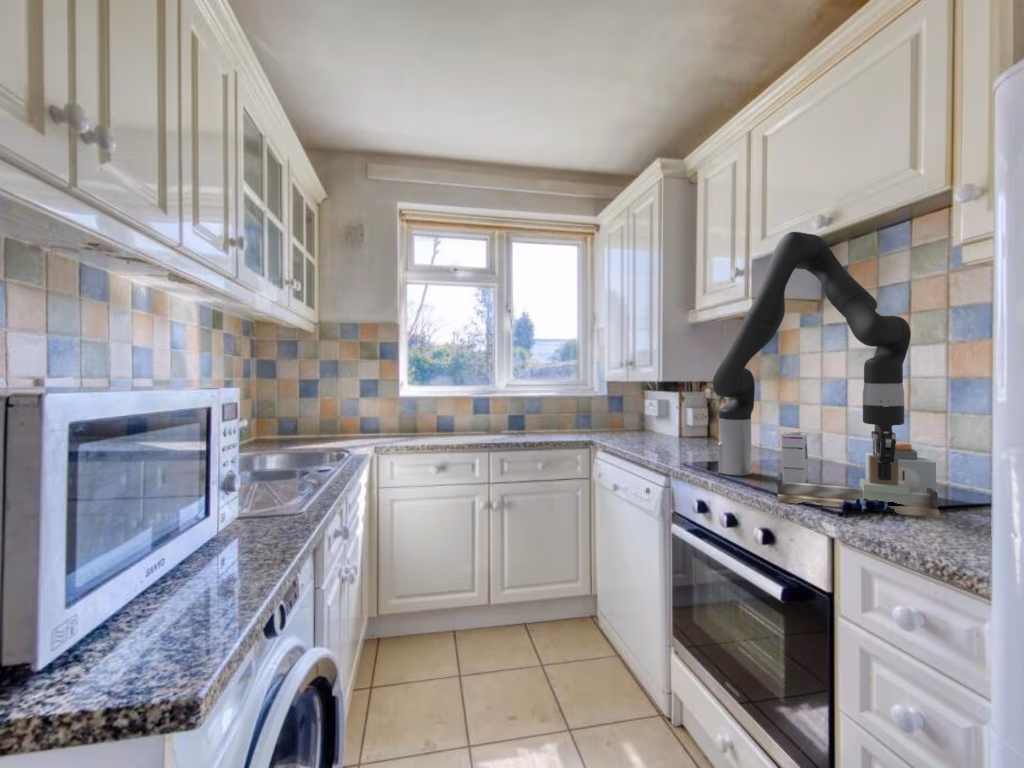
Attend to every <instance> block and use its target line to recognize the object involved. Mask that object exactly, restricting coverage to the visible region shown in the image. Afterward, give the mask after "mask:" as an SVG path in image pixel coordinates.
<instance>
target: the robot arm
mask: <svg viewBox="0 0 1024 768" xmlns="http://www.w3.org/2000/svg"><path fill="white" fill-rule="evenodd" d="M795 269H797V270H806V271H807V272H809V273H810V274H811V275H813V276H815V277H816V278H817V279H818V280H819V282H821V284H822V287H823V291H824V293H825V297H826V298H827V300H828V301H829V302H830V304H831V305H832V306H833V307H834V308H835V309H836V310H837V311H838V312H839V313H840V315H842V317H844V318H845V320H846V323H847V325H848V327H849V328H850V331H851V333H852V334H853V336H854V337H855V339H857V341H859V342H860V343H861V344H863V345H864V346H867V347H872V348H873V347H874V348H876V349H875V353H874V356H873V357H870V358H868V359H866V360H865V362H864V364H863V365H864V367H863V389H862V422H863V423H864V424H866V425H874V430H871V433H870V434H871V435H870V436H871V439H872V440H871V442H872V444H871V445H872V451H873V452H872V453H873V455H874V456H878V459H877V462H878V478H879V479H880V480H888V481H889V480H891V464H892V463H894V454H895V445H896V443H897V437H896V432H895V433H894V432H893V426H902V425H904V424H905V390H904V384H903V383H904V372H903V371H904V368H903V367H904V366H903V365H904V361H905V359H906V357H907V356H906V355H907V353H908V349H909V346H910V342H911V338H912V337H911V335H912V333H911V332H912V331H911V328H910V325H909V323H908V321H907V320H906V319H905V318H903V317H900V316H897V315H881V314H880V313H878V312H877V311H876V310H877V308H878V303H877V300H876V299H875V297H873V295H871V293H869V291H867V289H865V288H864V287H863V286H862V285H861V284H860V283H859V282H858V281H857V280H856V279H855V278H853V277H852V275H850V273H849V272H848V271H847V270H846V269H845V267H844V266H843V265H842V264H841V262H840V261H839V259H837V257H836V255H835V254H834V253H833V251H832V249H831V248H830V247H829V245H828V244H827V243H826V241H825V240H824V239H823V238H822V237H821V236H819V235H817V234H812V233H806V232H801V231H790V232H788V233H786V234H784V235H783V236H782V237H781V239H780V240H779V241H778V243H777V244H776V246H775V248H774V251H773V252H772V255H771V259H770V261H769V264H768V267H767V270H766V273H765V275H764V277H763V281H762V283H761V285H760V287H759V289H758V291H757V294H756V296H755V298H754V300H753V302H752V304H751V306H750V308H749V310H748V312H747V314H746V316H745V318H744V320H743V322H742V325H741V326H740V329H739V330H738V333H737V335H736V337H735V339H734V341H733V343H732V345H731V347H730V348H729V350H728V351H727V354H726V356H725V357H724V359H723V360H722V362H721V363H720V365H719V367H718V368H717V370H716V372H715V374H714V375H713V379H712V389H713V392H714V393H715V395H717V396H719V397H722V398H728V402H727V404H725V405H724V406H723V407H721V408H720V409H719V411H718V442H717V443H718V444H717V452H718V453H717V454H718V457H717V460H718V461H717V462H718V464H717V465H718V471H717V472H718V473H719V474H724V475H730V476H749V475H752V473H753V471H752V470H753V469H752V468H753V465H752V461H753V460H752V413H753V411H754V408H755V393H756V392H755V390H756V388H755V387H756V386H755V385H756V384H755V377H754V375H753V373H752V371H750V370H749V369H748V368H746V366H747V365H748V364H749V362H750V361H751V360H752V358H754V356H756V355H757V354H758V353H759V352H761V351H762V349H764V348H765V347H766V346H767V345H768V344H769V343H770V342H771V341H772V340H773V338H774V337H775V335H776V334H777V332H778V330H779V328H780V326H781V324H782V323H783V320H784V317H785V315H786V314H785V313H786V302H785V299H786V298H785V297H786V296H785V292H786V287H787V285H788V282H789V281H790V278H791V276H792V274H793V272H794V271H795ZM884 456H889V457H884Z"/></svg>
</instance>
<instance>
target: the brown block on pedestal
mask: <svg viewBox="0 0 1024 768" xmlns="http://www.w3.org/2000/svg"><path fill="white" fill-rule="evenodd" d="M884 457H889V456H884ZM877 459H878V456H872V455H869V479H866V478H861V477H860V478H859V488H862V489H863V499H864V498H865V499H868V500H878V501H886V502H894V503H897V504H902V505H908V495H909V487H908V486H907V485H905V484H904V483H903V482H902V481H898V458H897V457H894V463H892V464H891V480H889V481H888V480H880V479H879V478H878V462H877Z"/></svg>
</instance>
